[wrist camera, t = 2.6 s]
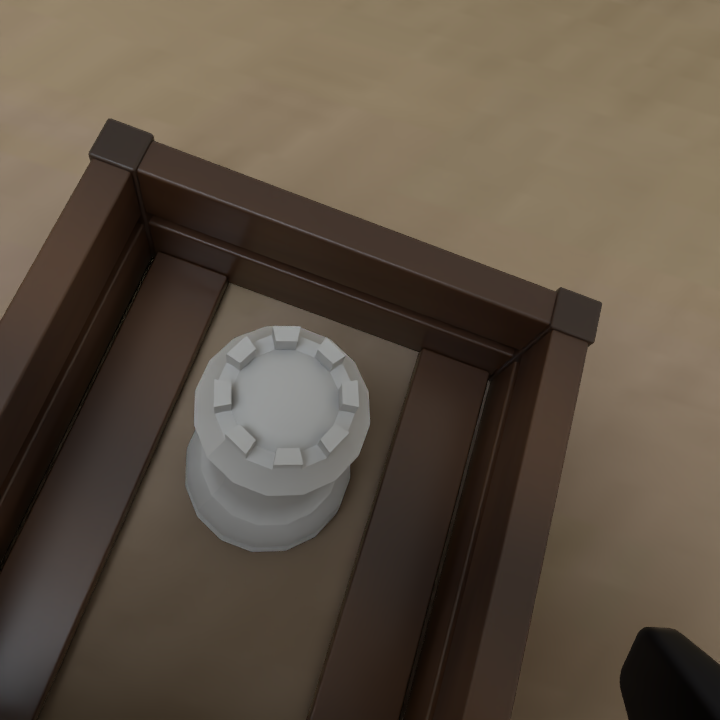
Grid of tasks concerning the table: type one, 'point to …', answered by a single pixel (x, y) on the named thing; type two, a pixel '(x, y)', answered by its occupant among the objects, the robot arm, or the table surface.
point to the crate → (405, 457)
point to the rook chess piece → (275, 437)
